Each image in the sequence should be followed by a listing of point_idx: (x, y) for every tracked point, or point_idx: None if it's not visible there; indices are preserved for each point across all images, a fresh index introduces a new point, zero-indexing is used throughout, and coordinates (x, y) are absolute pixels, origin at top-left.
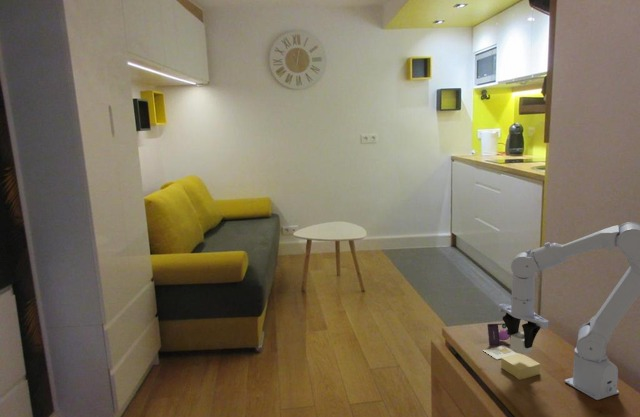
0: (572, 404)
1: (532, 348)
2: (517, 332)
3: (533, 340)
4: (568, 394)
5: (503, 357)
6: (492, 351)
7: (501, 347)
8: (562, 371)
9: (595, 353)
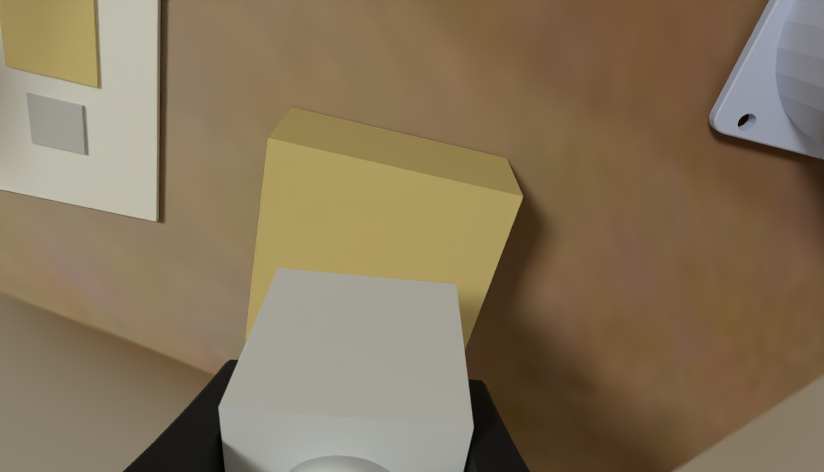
0: (806, 327)
1: (457, 300)
2: (215, 453)
3: (515, 455)
4: (764, 251)
5: (248, 325)
6: (18, 134)
7: None
8: None
9: None
